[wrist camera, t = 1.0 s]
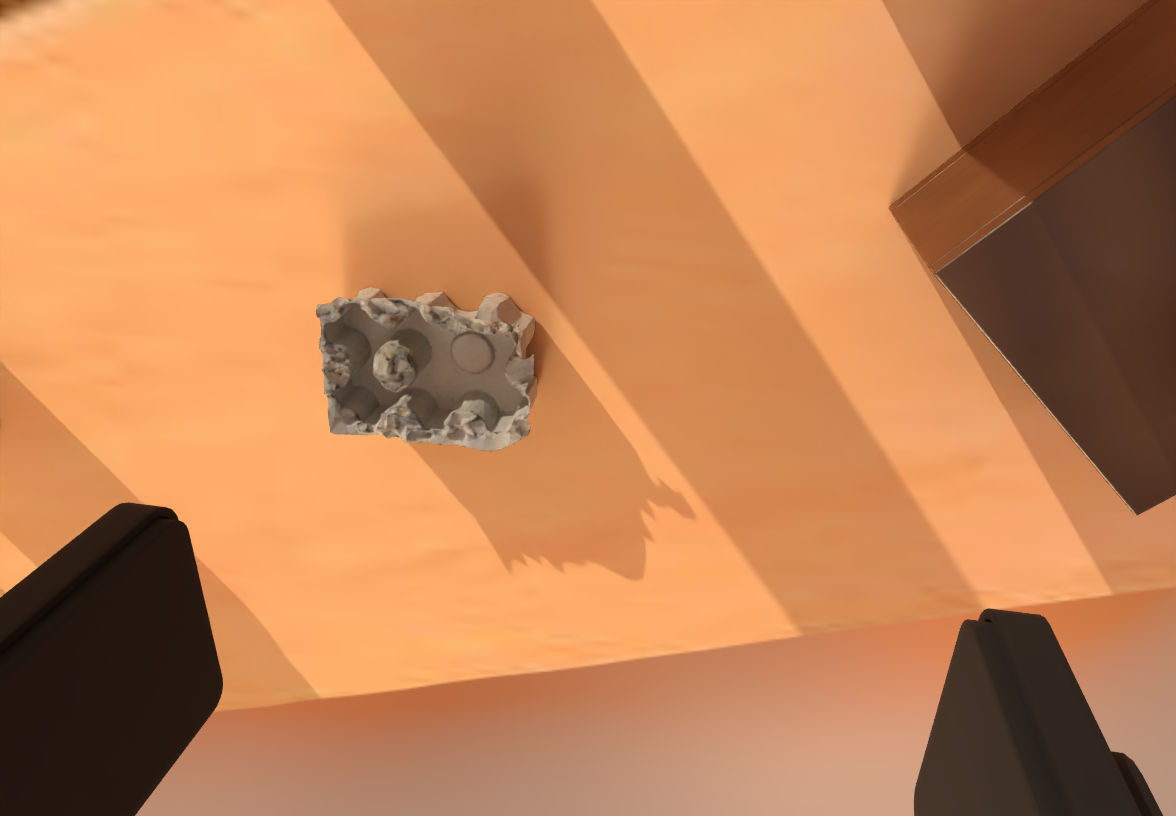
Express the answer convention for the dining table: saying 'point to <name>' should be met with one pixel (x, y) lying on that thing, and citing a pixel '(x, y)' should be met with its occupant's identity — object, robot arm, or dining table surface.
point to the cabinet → (1076, 248)
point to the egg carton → (428, 369)
